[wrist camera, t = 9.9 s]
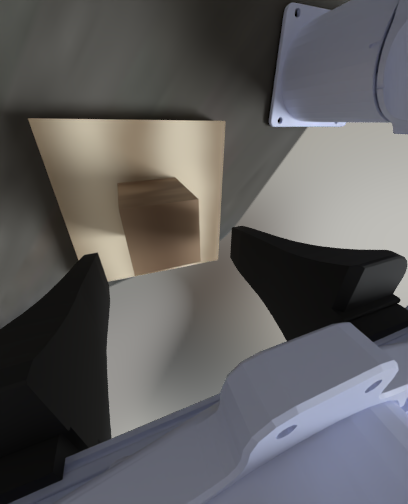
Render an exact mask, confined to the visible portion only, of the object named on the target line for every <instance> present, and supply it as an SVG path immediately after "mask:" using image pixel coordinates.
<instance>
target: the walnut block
mask: <svg viewBox="0 0 408 504" xmlns="http://www.w3.org/2000/svg"><path fill="white" fill-rule="evenodd" d="M117 187H118V207H119V213H120V217H121V221H122V226H123V230H124V234H125V238H126V242H127V246H128V250H129V254H130V258H131V263H132V267H133V271H134V275H135V276H137V275H142V274H147V273H151V272H156V271H160V270H165V269H169V268H174V267H179V266H183V265H188V264H192V263H197V262H201V257H200V226H199V199H198V198H197V197H196V196H195V195H194V194H193V193H192V192H190V191H189V190H188V189H187V188H186V187H185V186H184V185H183V184H182V183H181V182H180V181H179V180H178V179H177V178H175V177H174V178H164V179H154V180H144V181H134V182H123V183H117Z"/></svg>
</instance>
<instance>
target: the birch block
mask: <svg viewBox="0 0 408 504" xmlns="http://www.w3.org/2000/svg"><path fill="white" fill-rule="evenodd" d="M28 120H29V123H30V126H31V129H32V132H33V134H34V137H35V140H36V143H37V145H38V148H39V151H40V154H41V157H42V159H43V162H44V165H45V168H46V171H47V173H48V176H49V179H50V182H51V185H52V187H53V190H54V193H55V196H56V199H57V201H58V204H59V207H60V210H61V213H62V215H63V218H64V221H65V224H66V226H67V229H68V232H69V235H70V238H71V240H72V243H73V246H74V249H75V252H76V254H77V257H78V260H80V259H81V258H82V256H84V255H86V254H92V253H97V252H98V254H99V257H100V260H101V263H102V266H103V269H104V272H105V275H106V278H107V281H114V280H119V279H124V278H129V277H134V276H135V275H134V271H133V267H132V263H131V258H130V254H129V250H128V246H127V242H126V238H125V234H124V230H123V226H122V221H121V217H120V213H119V207H118V187H117V183H123V182H134V181H144V180H154V179H164V178H174V177H175V178H177V179H178V180H179V181H180V182H181V183H182V184H183V185H184V186H185V187H186V188H187V189H188V190H189V191H190V192H192V193H193V194H194V195H195V196H196V197H197V198H198V199H199V226H200V257H201V262H197V263H192V264H188V265H183V266H179V267H184V266H190V265H195V264H200V263H204V262H210V261H215V260H218V250H219V231H220V212H221V194H222V175H223V156H224V137H225V121H190V120H115V119H40V118H28ZM179 267H174V268H179ZM174 268H169V269H174ZM169 269H165V270H169ZM160 271H164V270H160ZM156 272H158V271H156ZM151 273H154V272H151ZM147 274H148V273H147ZM142 275H143V274H142ZM137 276H139V275H137Z"/></svg>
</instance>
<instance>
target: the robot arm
mask: <svg viewBox="0 0 408 504" xmlns="http://www.w3.org/2000/svg"><path fill="white" fill-rule="evenodd" d="M295 10H296V11H297V17H295ZM279 118H280V122H279V123H278V119H279ZM346 122H391V123H392V125H393V133H394V134H408V0H350V1H348V2H347V3H345V4H343V5H341V6H339V7H337V8H335V9H333V10H328V9H324V8H319V7H314V6H309V5H304V4H299V3H295V2H292V3H290V4H288V5H287V6H286V8H285V10H284V15H283V22H282V30H281V37H280V44H279V51H278V58H277V66H276V73H275V80H274V87H273V94H272V101H271V109H270V116H269V125H270V126H272V127H342V126H344V125H345V124H346ZM231 238H232V239H231V256H230V257H231V259H232V261H233V263H234V265H235V266H236V268H237V269H238V271H239V272H240V274H241V275H242V276H243V277H244V278H245V280H246V281H247V282H248V283H249V285H251V287H252V288H253V289H254V291H255V292H256V293H257V294H258V295H259V297H260V298H261V300H262V301H263V302H264V304H265V305H266V307H267V308H268V310H269V311H270V313H271V315H272V316H273V318H274V320H275V321H276V323H277V324H278V326H279V328H280V330H281V331H282V333H283V335H284V337H285V339H286V340H287V342H284V343H282V344H279V345H276V346H274V347H271V348H269V349H266V350H263V351H260V352H258V353H256V354H255V355H253V356H251V357H249V358H247V359H245V360H243V361H242V362H240V363H239V364H238V365H237V366H236V367H235V368H234V369H233V370H232V371H231V372H230V373H229V374H228V375H227V377H226V380H225V382H224V384H223V386H222V389H221V392H220V393H219V394H217V395H214V396H212V397H210V398H207V399H205V400H203V401H200V402H198V403H195V404H193V405H191V406H188V407H186V408H183V409H181V410H179V411H176V412H174V413H171V414H169V415H167V416H164V417H162V418H160V419H157V420H155V421H152V422H150V423H148V424H145V425H143V426H141V427H138V428H136V429H133V430H131V431H128V432H126V433H124V434H121V435H119V436H117V437H114V438H112V439H111V428H110V414H109V400H108V380H107V356H106V346H107V332H108V320H109V308H110V295H109V284H108V281H107V278H106V275H105V272H104V269H103V266H102V263H101V260H100V257H99V254H98V252H97V253H92V254H86V255H84V256H82V258H81V259H80V260H79V261H78V262H77V263H76V264H75V265H74V266H73V268H72V269H71V270H70V271H69V272H68V273H67V274H66V275H65V276H64V277H63V278H62V279H61V280H60V281H59V282H58V283H57V284H56V285H55V286H54V287H53V288H52V289H51V290H50V291H49V292H48V293H47V294H46V295H45V296H44V297H43V298H41V299H40V300H39V301H38V302H37V303H35V304H34V305H33V306H32V307H30V308H29V309H28V310H27V311H25V312H24V313H23V314H21V315H20V316H19V317H17V318H16V319H14V320H13V321H11V322H10V323H9V324H7V325H6V326H4V327H3V328H2V329H0V504H408V306H407V307H406V308H404V307H402V306H401V305H399V304H397V303H399V302H400V299H399V298H398V297H397V296H395V295H394V294H393V293H394V291H395V289H396V288H397V286H398V284H399V283H400V281H401V279H402V278H403V276H404V274H405V272H406V269H407V260H406V259H405V257H403V256H401V255H398V254H396V253H394V252H392V251H388V250H353V249H340V248H330V247H322V246H315V245H310V244H304V243H300V242H295V241H291V240H288V239H284V238H280V237H277V236H274V235H271V234H268V233H265V232H261V231H258V230H255V229H252V228H249V227H245V226H238V227H233V228H232V237H231Z"/></svg>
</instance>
